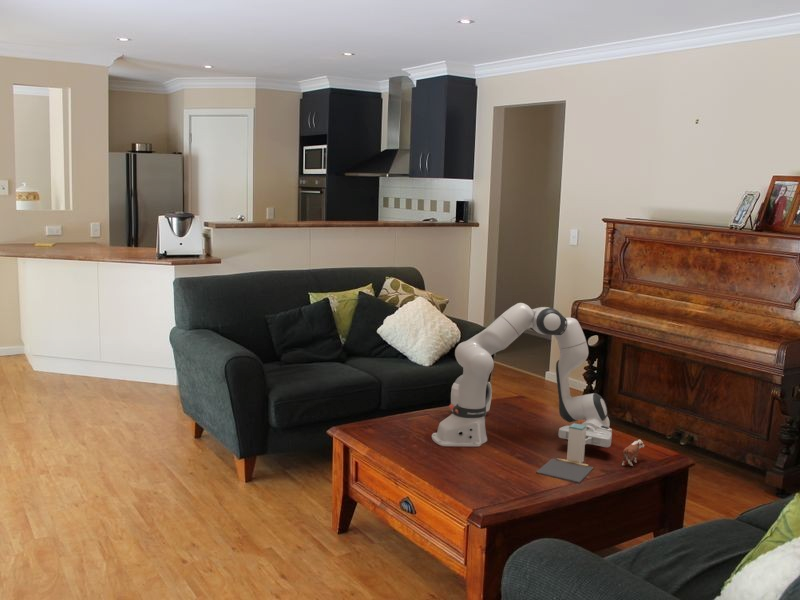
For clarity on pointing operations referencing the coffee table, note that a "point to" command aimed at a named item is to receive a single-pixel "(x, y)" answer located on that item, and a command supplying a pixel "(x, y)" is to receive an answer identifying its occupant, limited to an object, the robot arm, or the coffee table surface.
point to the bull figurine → (632, 451)
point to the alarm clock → (455, 393)
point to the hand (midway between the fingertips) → (578, 441)
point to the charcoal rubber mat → (565, 470)
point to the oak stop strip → (572, 462)
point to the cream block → (576, 442)
